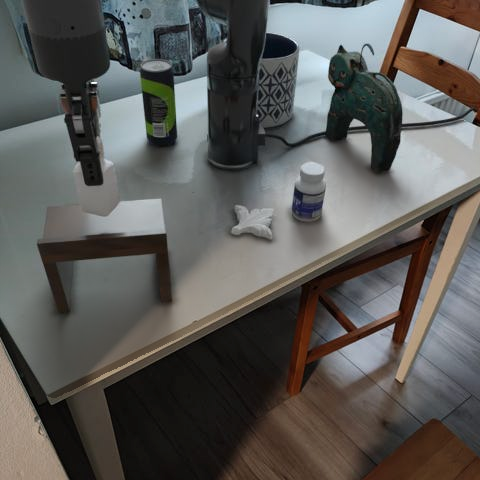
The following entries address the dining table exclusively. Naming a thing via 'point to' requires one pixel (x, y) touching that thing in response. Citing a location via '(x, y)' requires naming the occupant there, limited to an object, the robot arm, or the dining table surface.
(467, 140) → the dining table surface
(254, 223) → the acanthus leaf ornament
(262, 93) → the planter
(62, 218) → the wooden table
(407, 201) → the dining table surface
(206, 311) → the dining table surface
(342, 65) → the ceramic cat
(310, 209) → the pill bottle
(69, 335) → the dining table surface
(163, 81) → the beverage can
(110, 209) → the salt shaker
